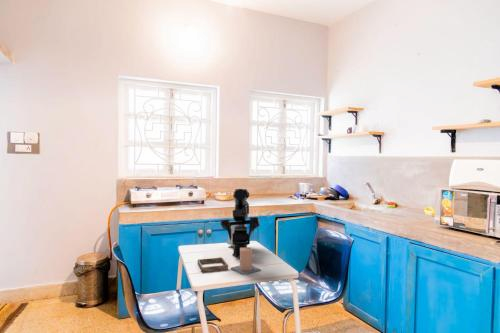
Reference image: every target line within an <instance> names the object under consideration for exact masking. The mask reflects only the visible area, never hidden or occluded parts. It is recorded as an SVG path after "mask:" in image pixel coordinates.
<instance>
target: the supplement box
mask: <svg viewBox="0 0 500 333" xmlns="http://www.w3.org/2000/svg"><path fill="white" fill-rule="evenodd" d="M235 226H237V225H231V240H230V238H229V234H228V236H227V242H226V244H227V245H229V246H232V247H234V245H233V241H232V235H233V233H234V229H235ZM245 226H246V227H247V228H248V224H245Z"/></svg>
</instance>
